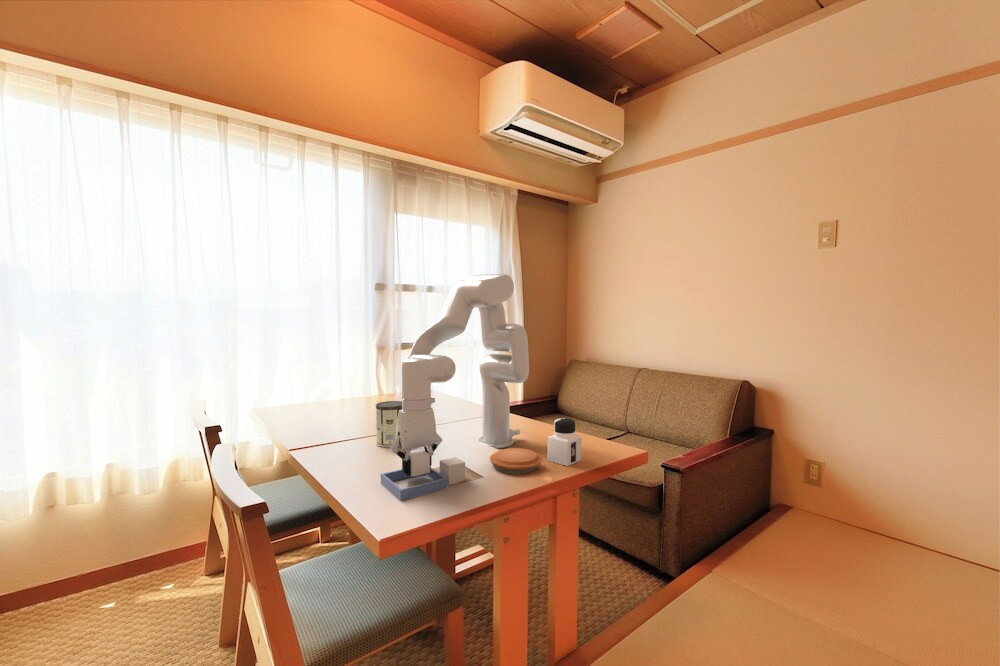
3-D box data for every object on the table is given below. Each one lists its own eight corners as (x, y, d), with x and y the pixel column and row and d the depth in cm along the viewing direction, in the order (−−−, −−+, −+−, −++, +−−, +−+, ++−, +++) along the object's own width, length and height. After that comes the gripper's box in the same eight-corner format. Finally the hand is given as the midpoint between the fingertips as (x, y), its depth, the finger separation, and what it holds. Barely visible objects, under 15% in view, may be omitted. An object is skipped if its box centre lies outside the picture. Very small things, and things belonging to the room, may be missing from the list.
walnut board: (458, 466, 128) (458, 462, 128) (484, 481, 117) (484, 476, 117) (424, 474, 122) (424, 470, 122) (448, 490, 111) (449, 486, 111)
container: (581, 460, 134) (582, 419, 133) (567, 466, 128) (568, 424, 128) (561, 454, 139) (561, 415, 139) (546, 460, 134) (547, 419, 133)
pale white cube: (455, 474, 119) (455, 456, 119) (465, 480, 115) (465, 462, 114) (439, 478, 116) (439, 460, 116) (448, 484, 112) (448, 465, 112)
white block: (421, 466, 118) (421, 449, 118) (429, 472, 114) (429, 453, 114) (404, 470, 115) (404, 452, 115) (412, 476, 111) (412, 457, 111)
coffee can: (399, 437, 159) (399, 399, 158) (410, 444, 150) (410, 404, 150) (371, 441, 153) (371, 402, 152) (382, 449, 144) (381, 408, 144)
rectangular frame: (425, 476, 121) (425, 463, 120) (448, 492, 110) (448, 478, 110) (380, 487, 113) (380, 474, 113) (400, 505, 102) (400, 490, 102)
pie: (479, 467, 128) (479, 451, 127) (519, 457, 137) (519, 442, 137) (511, 484, 115) (511, 466, 115) (552, 471, 125) (553, 455, 124)
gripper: (438, 398, 122) (438, 461, 123) (380, 406, 112) (381, 474, 113) (451, 402, 116) (451, 468, 117) (391, 411, 106) (392, 483, 107)
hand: (417, 470), depth 115 cm, fingers closed on white block, 5 cm apart
